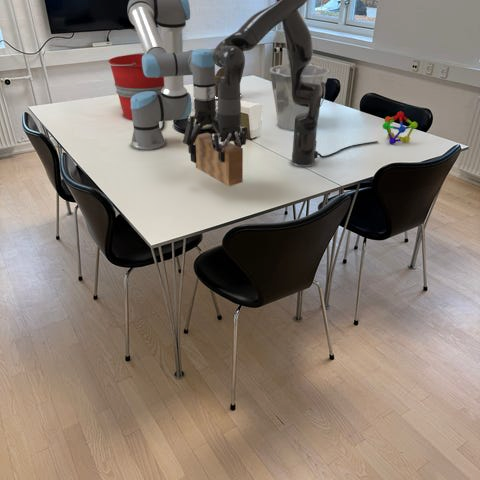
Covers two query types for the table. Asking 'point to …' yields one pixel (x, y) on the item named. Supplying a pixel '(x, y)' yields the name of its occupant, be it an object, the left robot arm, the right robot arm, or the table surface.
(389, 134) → the educational toy
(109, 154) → the table surface
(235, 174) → the box
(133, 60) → the bucket
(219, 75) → the bell
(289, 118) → the bucket
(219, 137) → the left robot arm
